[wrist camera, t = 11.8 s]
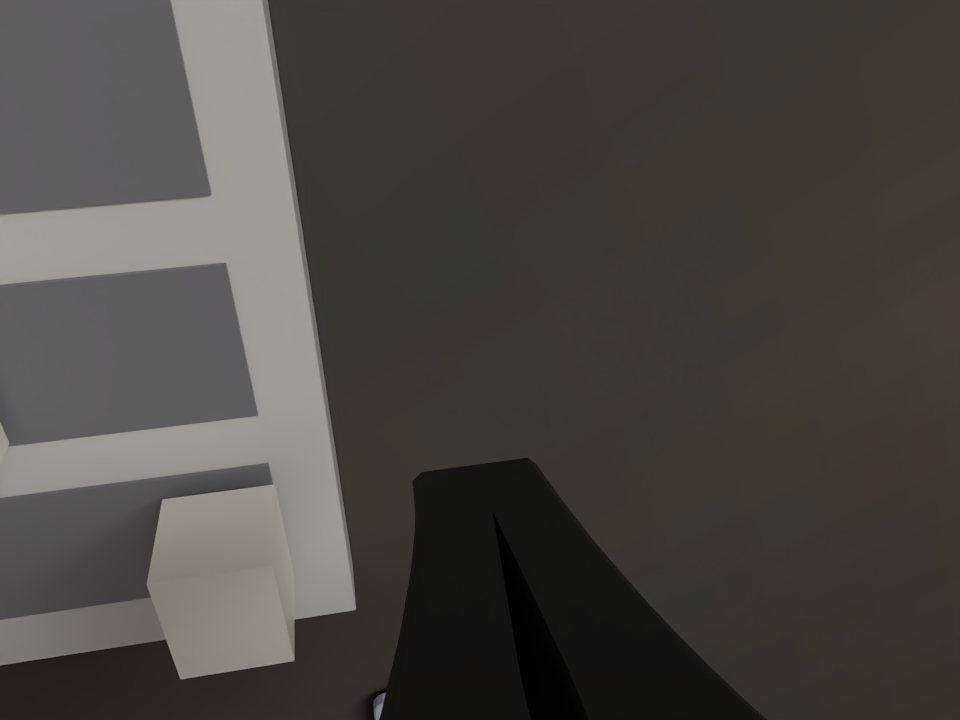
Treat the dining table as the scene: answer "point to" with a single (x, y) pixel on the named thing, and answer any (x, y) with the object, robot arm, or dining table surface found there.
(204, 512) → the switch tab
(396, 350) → the dining table surface
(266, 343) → the panel
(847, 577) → the dining table surface
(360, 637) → the dining table surface
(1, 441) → the switch tab mid
